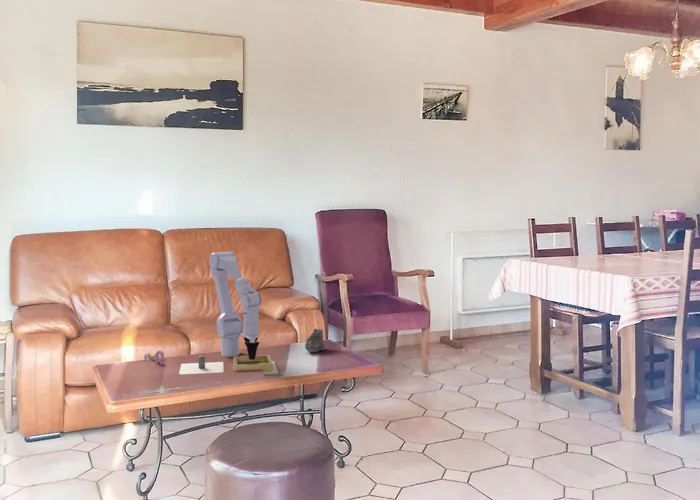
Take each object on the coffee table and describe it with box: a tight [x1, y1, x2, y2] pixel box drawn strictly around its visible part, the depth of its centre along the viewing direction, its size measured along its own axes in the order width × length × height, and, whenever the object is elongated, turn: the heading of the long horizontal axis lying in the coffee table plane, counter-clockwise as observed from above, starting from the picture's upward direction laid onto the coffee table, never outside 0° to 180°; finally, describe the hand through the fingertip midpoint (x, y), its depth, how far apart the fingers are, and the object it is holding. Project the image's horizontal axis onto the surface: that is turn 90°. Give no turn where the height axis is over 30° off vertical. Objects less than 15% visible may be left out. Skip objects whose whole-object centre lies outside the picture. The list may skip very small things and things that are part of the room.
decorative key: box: [143, 349, 165, 365], centre depth 261 cm, size 7×1×20 cm
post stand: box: [178, 355, 224, 375], centre depth 248 cm, size 16×16×6 cm
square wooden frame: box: [232, 354, 273, 372], centre depth 252 cm, size 14×14×3 cm
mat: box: [261, 360, 279, 376], centre depth 252 cm, size 18×18×1 cm
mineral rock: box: [304, 328, 326, 353], centre depth 282 cm, size 13×11×10 cm
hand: (251, 357), depth 258 cm, fingers open, 7 cm apart
